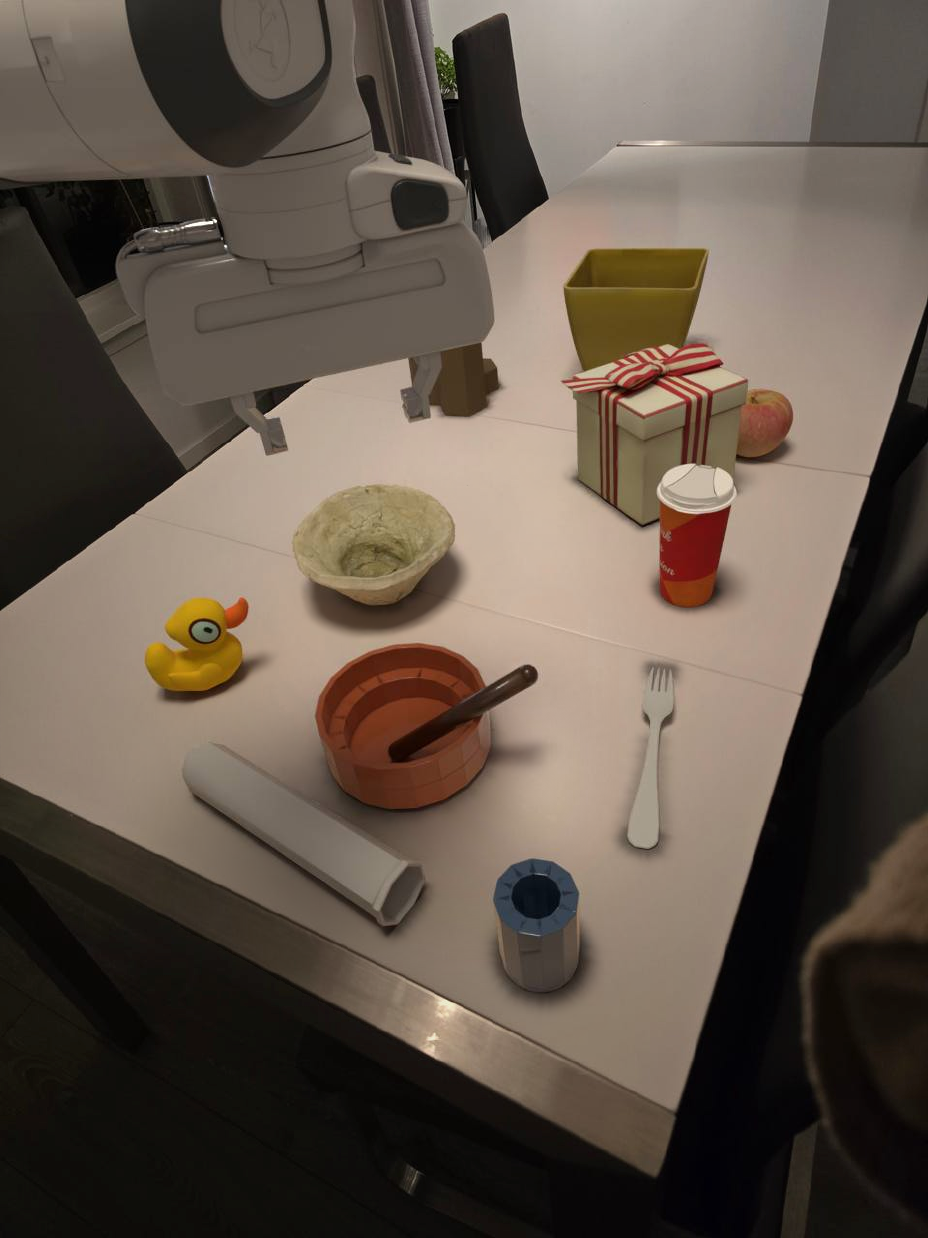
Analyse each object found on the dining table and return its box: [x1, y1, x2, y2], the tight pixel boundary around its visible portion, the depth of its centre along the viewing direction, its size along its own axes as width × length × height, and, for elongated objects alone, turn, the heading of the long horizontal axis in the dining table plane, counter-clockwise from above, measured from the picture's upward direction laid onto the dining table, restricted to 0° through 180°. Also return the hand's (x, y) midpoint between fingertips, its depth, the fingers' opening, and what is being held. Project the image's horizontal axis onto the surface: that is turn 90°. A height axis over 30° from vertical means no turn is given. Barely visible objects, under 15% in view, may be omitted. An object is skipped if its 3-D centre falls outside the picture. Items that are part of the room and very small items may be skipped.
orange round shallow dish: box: [314, 642, 492, 810], centre depth 73 cm, size 15×15×6 cm
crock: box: [492, 857, 581, 994], centre depth 56 cm, size 6×6×8 cm
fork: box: [626, 666, 675, 850], centre depth 72 cm, size 3×21×3 cm, turn 165°
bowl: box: [291, 483, 456, 606], centre depth 90 cm, size 14×18×15 cm
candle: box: [407, 342, 500, 417], centre depth 126 cm, size 14×14×15 cm
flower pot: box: [562, 247, 710, 372], centre depth 126 cm, size 19×19×17 cm
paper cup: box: [657, 464, 738, 608], centre depth 84 cm, size 8×8×14 cm
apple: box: [736, 388, 794, 458], centre depth 107 cm, size 9×9×8 cm
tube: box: [181, 742, 426, 927], centre depth 67 cm, size 5×5×25 cm
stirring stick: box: [388, 664, 539, 761], centre depth 69 cm, size 2×2×17 cm
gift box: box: [560, 342, 749, 526], centre depth 101 cm, size 17×18×17 cm
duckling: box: [144, 597, 249, 692], centre depth 82 cm, size 11×5×10 cm, turn 112°
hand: (348, 433), depth 52 cm, fingers open, 8 cm apart
